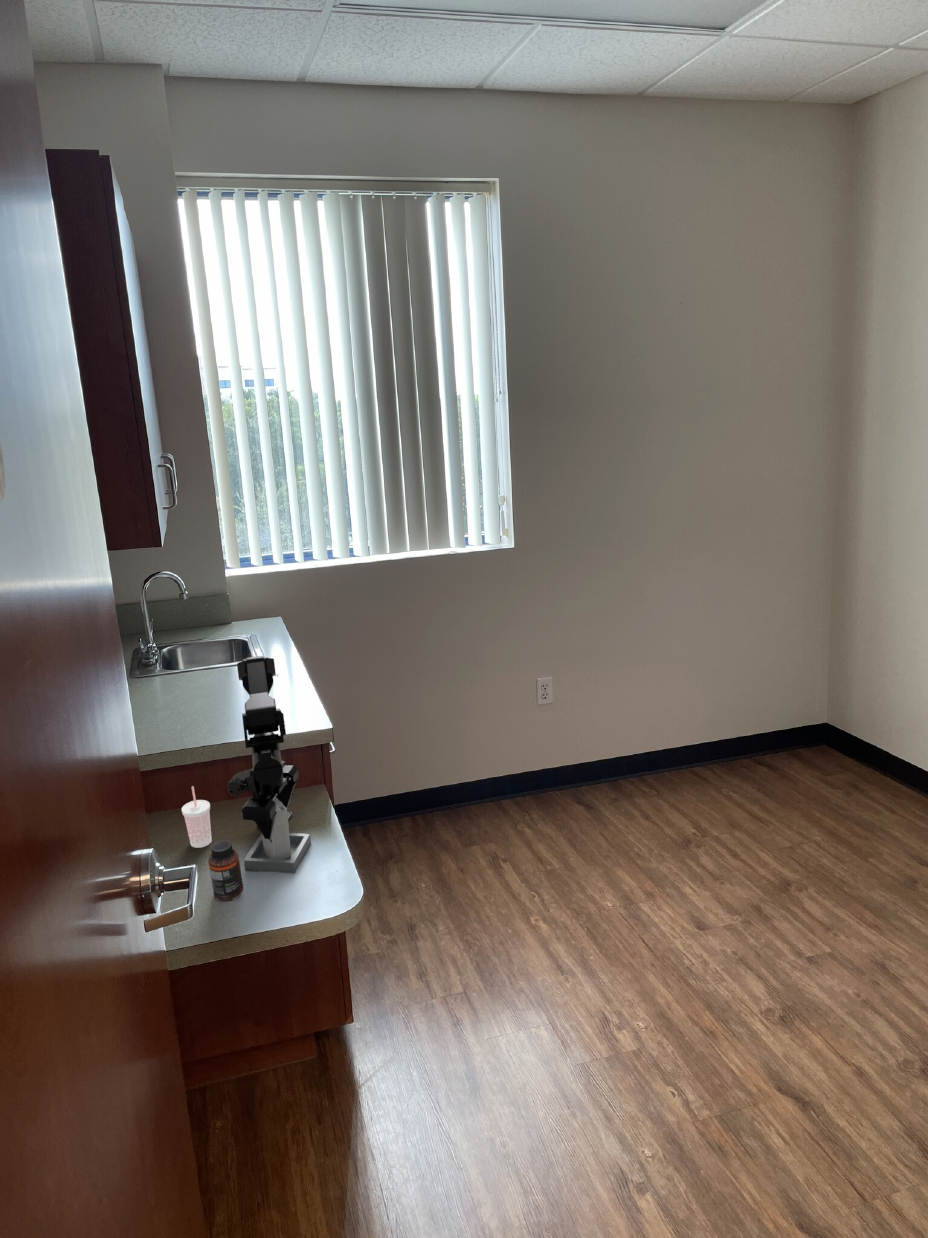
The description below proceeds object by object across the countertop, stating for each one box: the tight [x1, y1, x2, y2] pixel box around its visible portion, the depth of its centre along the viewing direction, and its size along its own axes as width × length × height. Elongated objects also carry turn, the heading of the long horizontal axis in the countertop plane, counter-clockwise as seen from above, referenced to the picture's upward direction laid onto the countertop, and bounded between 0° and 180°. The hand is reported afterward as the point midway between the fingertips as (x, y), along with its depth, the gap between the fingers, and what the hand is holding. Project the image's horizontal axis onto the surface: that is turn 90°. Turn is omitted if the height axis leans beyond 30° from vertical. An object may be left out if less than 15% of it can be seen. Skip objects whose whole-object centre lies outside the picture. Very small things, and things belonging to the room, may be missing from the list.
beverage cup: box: [181, 785, 213, 849], centre depth 189 cm, size 6×6×14 cm
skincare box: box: [262, 797, 291, 860], centre depth 183 cm, size 6×4×12 cm
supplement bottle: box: [207, 839, 244, 902], centre depth 171 cm, size 6×6×11 cm
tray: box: [243, 832, 312, 874], centre depth 184 cm, size 11×11×2 cm
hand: (275, 826), depth 182 cm, fingers open, 9 cm apart
